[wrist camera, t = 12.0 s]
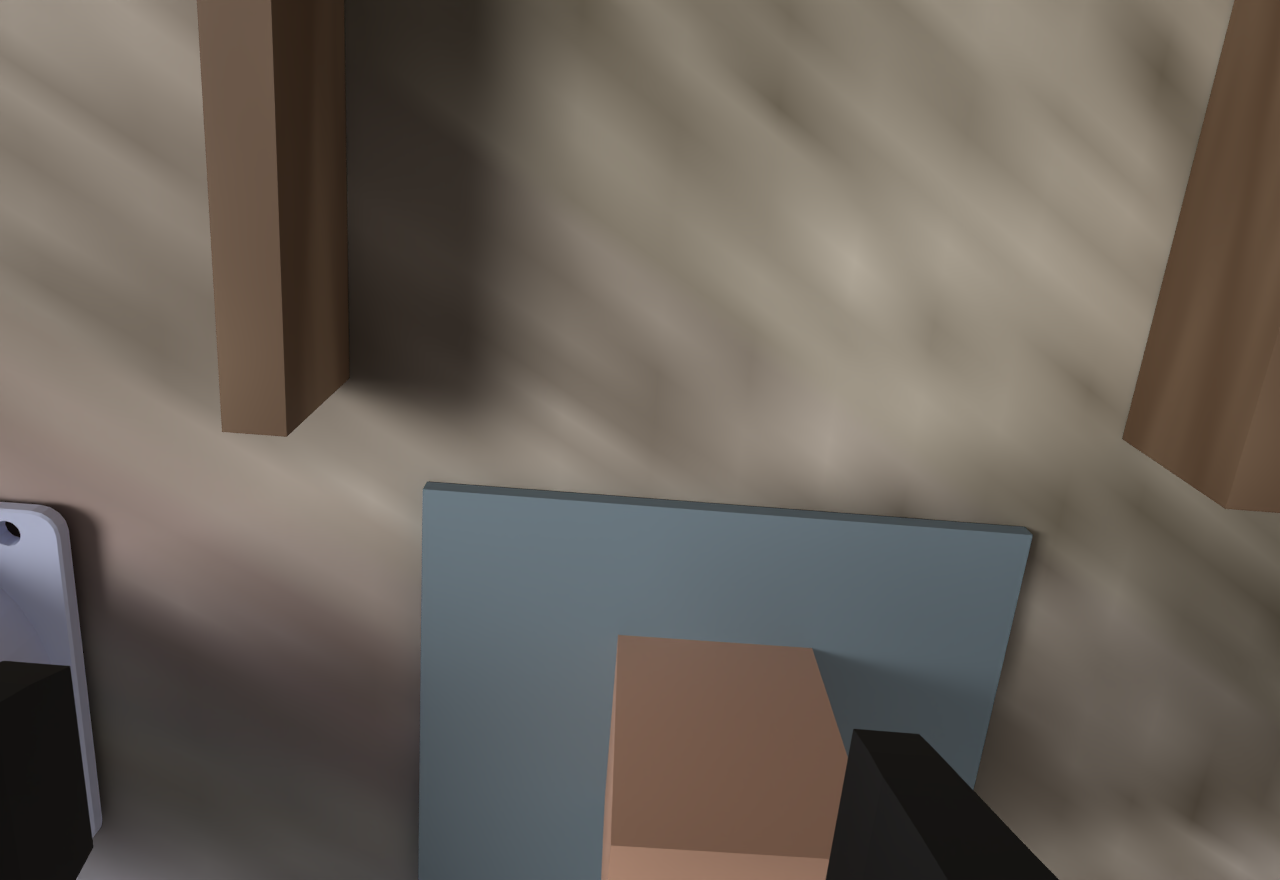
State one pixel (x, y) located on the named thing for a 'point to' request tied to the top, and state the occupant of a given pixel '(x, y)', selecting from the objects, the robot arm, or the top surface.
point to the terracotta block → (720, 763)
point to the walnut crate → (318, 249)
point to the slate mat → (678, 609)
